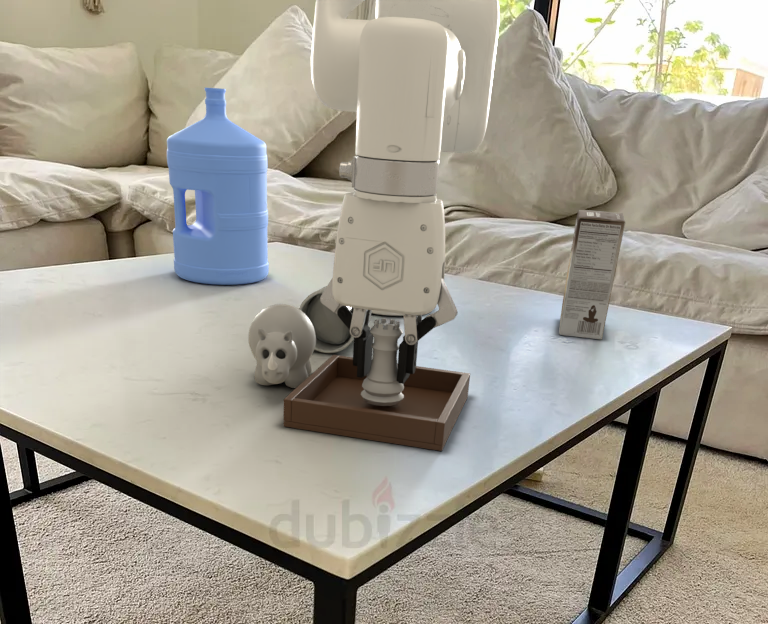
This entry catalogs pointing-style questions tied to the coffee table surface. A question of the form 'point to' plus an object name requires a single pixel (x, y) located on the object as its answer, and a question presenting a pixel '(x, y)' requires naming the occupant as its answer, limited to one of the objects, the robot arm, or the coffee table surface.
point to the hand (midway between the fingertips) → (383, 374)
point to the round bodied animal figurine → (282, 345)
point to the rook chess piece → (384, 366)
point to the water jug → (219, 199)
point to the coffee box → (591, 273)
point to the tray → (373, 422)
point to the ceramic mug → (326, 325)
